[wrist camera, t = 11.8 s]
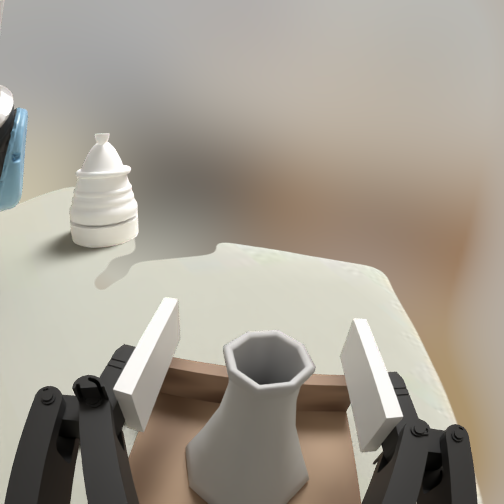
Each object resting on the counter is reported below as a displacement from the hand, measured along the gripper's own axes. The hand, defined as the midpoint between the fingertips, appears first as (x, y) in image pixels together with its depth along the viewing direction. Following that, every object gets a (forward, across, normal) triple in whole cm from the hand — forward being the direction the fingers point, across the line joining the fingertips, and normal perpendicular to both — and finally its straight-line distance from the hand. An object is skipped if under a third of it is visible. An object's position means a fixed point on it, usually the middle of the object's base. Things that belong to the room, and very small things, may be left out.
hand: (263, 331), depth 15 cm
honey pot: (+32, -29, -9) cm, 44 cm away
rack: (-4, 0, -9) cm, 10 cm away
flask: (-5, 0, -8) cm, 9 cm away
